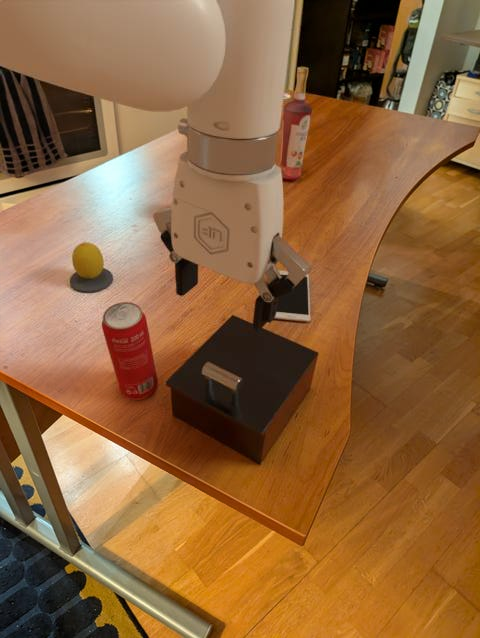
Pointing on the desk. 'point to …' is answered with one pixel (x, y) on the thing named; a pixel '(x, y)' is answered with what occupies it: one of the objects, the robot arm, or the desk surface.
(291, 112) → the liquor
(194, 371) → the lid
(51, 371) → the desk surface
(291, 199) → the desk surface
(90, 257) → the lemon
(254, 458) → the black open square box
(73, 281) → the coaster
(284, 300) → the smartphone
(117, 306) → the beverage can
